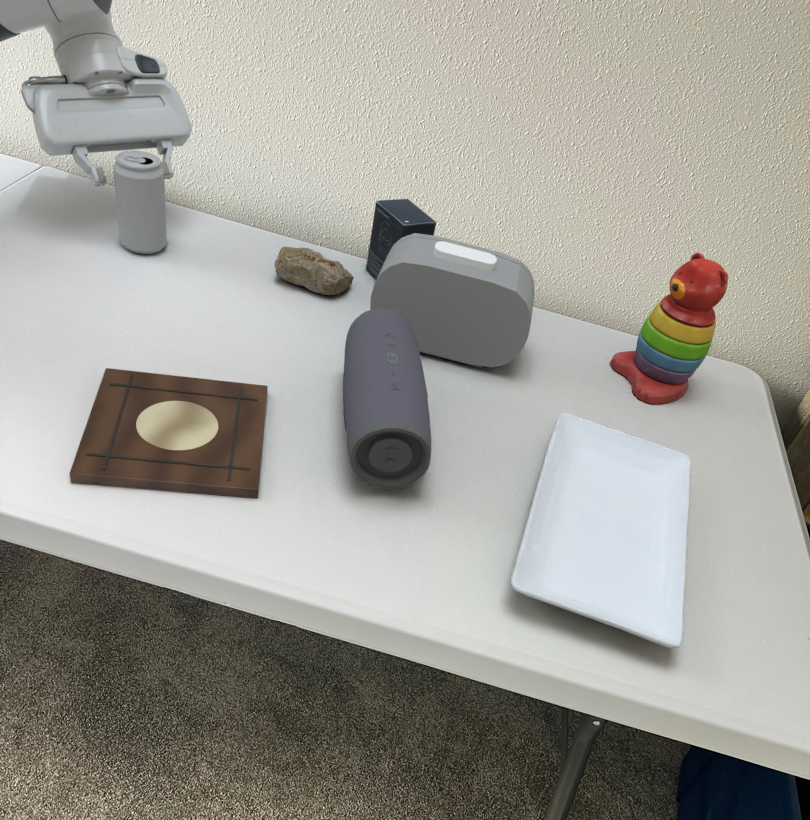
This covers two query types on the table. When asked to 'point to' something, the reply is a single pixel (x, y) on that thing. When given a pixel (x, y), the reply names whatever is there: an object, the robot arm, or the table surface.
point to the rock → (312, 271)
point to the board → (173, 434)
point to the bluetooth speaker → (385, 401)
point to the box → (394, 229)
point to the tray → (609, 531)
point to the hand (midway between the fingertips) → (134, 181)
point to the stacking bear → (675, 333)
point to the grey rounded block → (458, 298)
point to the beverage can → (140, 201)
